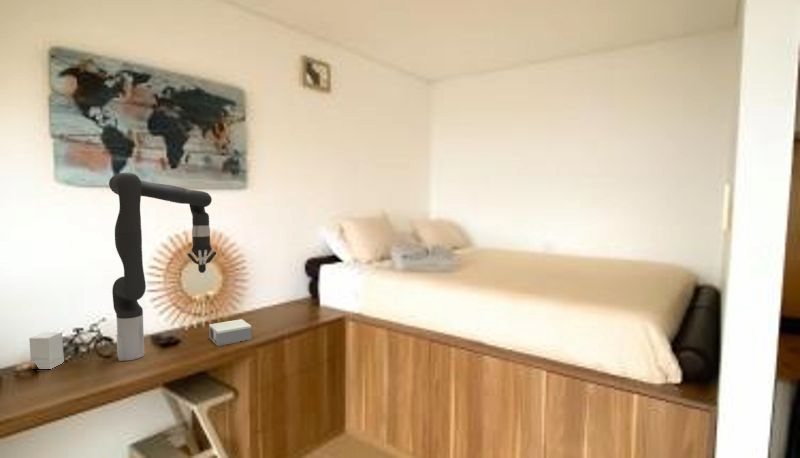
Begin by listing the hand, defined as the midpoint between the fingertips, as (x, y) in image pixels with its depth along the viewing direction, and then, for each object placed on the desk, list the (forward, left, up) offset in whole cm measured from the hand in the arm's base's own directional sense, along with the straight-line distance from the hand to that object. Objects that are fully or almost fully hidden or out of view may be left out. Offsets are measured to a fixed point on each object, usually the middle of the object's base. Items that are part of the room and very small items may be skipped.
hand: (202, 272), depth 203 cm
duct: (+10, -9, -31) cm, 34 cm away
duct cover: (+10, -9, -25) cm, 29 cm away
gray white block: (+10, -9, -30) cm, 33 cm away
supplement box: (-57, -1, -31) cm, 65 cm away
